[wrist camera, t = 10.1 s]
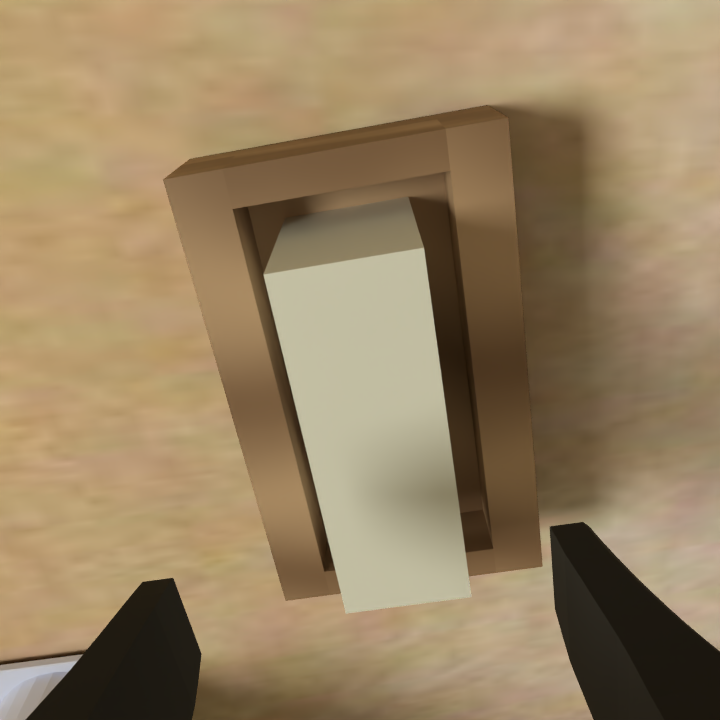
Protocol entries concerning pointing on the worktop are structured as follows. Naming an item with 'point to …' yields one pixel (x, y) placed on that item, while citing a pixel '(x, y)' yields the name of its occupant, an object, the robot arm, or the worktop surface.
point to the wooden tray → (449, 305)
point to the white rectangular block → (371, 401)
